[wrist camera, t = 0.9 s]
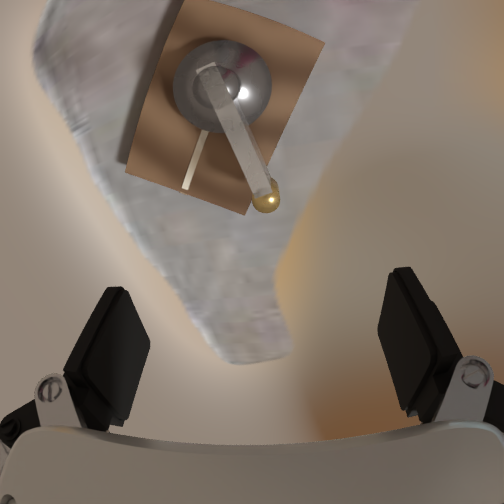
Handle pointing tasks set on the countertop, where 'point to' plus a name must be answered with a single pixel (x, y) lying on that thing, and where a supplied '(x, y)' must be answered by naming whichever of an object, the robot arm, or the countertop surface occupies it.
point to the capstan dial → (229, 106)
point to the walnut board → (209, 143)
